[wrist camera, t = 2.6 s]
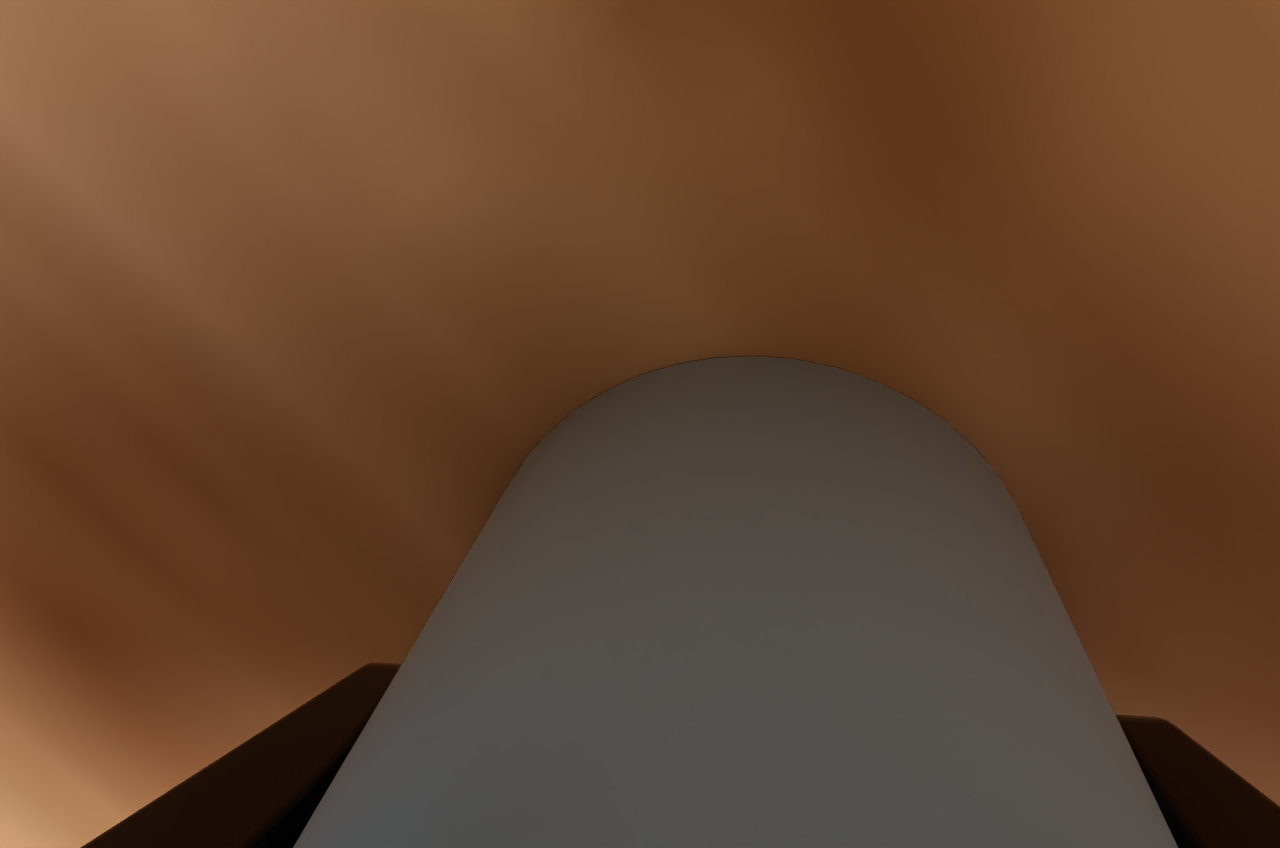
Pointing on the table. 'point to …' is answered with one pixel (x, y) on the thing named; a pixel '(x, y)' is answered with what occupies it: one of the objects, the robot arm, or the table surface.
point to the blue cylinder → (746, 644)
